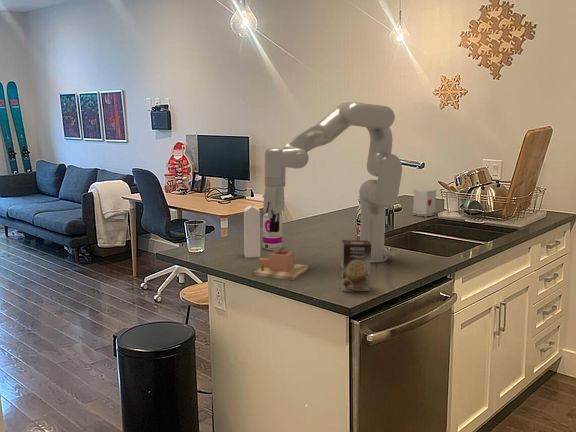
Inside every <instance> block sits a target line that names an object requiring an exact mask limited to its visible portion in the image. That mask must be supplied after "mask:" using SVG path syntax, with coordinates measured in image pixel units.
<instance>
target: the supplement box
mask: <svg viewBox="0 0 576 432" xmlns="http://www.w3.org/2000/svg"><path fill="white" fill-rule="evenodd" d="M413 190H414V191H413V204H412V207H413V208H412V214H413V213H417V214H431V213H434V212H435V213H436V203H437V201H436V200H437V189H434V188H433V189H432V188H426V187H421V188H415V189H413Z"/></svg>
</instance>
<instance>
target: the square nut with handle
mask: <svg viewBox="0 0 576 432" xmlns="http://www.w3.org/2000/svg"><path fill="white" fill-rule="evenodd" d="M268 255H269V256H268V257H269V258H267V257H258V260H257V261H258V264H257V265H258V267H259V268H260V267H261V262H264V267H265V268H269V270H273V271H281V272H288V271H290V270H291V269H293V268H294V264H295V251H294V250H293V251H292V250H285V249H283V250H282V249H280V250H275V251H272V252H270V253H269V254H268Z"/></svg>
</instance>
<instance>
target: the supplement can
mask: <svg viewBox="0 0 576 432" xmlns="http://www.w3.org/2000/svg"><path fill="white" fill-rule="evenodd" d="M262 247H263V249H264V251H265V250H266V251H272V252H274V251H275V250H282V248H283V216H282V214H280V220H279V231H278V232H270V221H269V218H268V213H266V214H265V213H263V216H262Z"/></svg>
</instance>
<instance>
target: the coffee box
mask: <svg viewBox="0 0 576 432" xmlns="http://www.w3.org/2000/svg"><path fill="white" fill-rule="evenodd" d="M340 249H341V253H340V278H339V281H340V282H339V286H340V289H341V291H342V292H354V291H369V292H370V281H371V280H370V278H371V263H372V262H371V243H370V242H368V241H363V240H360V239H359V240H356V239H352V240H351V239H342V240H341V248H340Z"/></svg>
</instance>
